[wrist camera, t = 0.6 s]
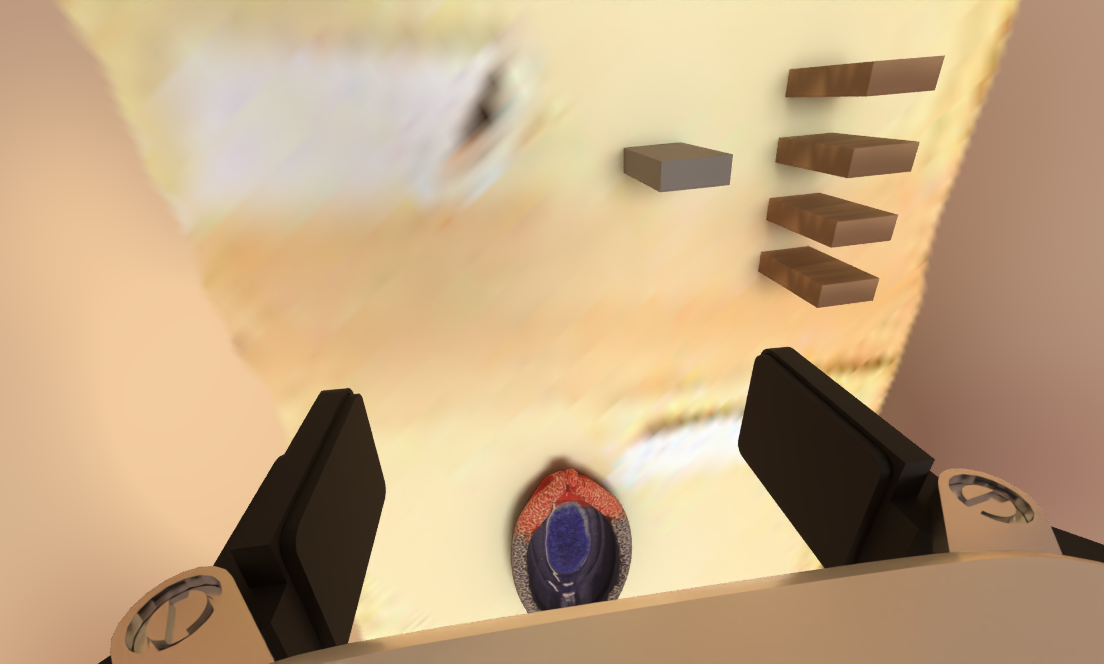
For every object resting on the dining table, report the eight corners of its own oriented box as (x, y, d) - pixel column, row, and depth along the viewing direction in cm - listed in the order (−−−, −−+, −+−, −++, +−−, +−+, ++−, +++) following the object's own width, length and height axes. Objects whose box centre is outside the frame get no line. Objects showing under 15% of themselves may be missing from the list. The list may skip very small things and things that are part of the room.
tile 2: (789, 69, 37) (874, 61, 29) (846, 64, 37) (944, 55, 29) (785, 96, 38) (866, 96, 30) (840, 92, 38) (934, 90, 30)
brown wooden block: (761, 251, 44) (822, 285, 36) (808, 246, 45) (879, 278, 37) (758, 271, 45) (817, 307, 37) (804, 265, 45) (872, 300, 38)
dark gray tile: (623, 147, 38) (661, 161, 30) (680, 142, 38) (732, 154, 30) (623, 172, 39) (660, 192, 31) (679, 167, 39) (729, 184, 31)
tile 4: (769, 198, 42) (837, 221, 34) (819, 192, 42) (898, 215, 34) (766, 219, 43) (831, 247, 35) (815, 214, 43) (890, 240, 35)
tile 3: (779, 137, 39) (854, 148, 31) (832, 132, 40) (919, 141, 32) (775, 162, 40) (847, 178, 32) (827, 156, 41) (910, 171, 33)
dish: (514, 611, 66) (517, 648, 62) (503, 455, 52) (506, 488, 48) (616, 597, 68) (625, 631, 64) (633, 442, 54) (646, 472, 49)
